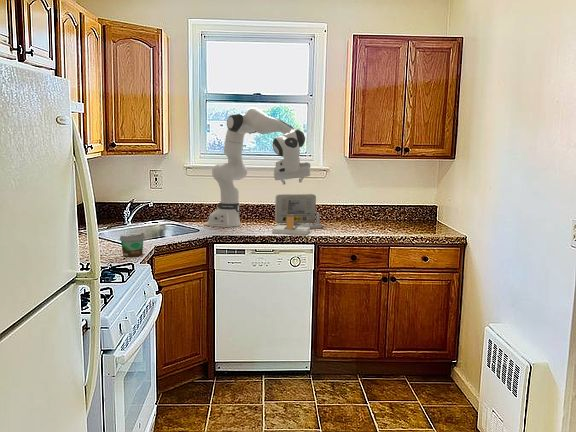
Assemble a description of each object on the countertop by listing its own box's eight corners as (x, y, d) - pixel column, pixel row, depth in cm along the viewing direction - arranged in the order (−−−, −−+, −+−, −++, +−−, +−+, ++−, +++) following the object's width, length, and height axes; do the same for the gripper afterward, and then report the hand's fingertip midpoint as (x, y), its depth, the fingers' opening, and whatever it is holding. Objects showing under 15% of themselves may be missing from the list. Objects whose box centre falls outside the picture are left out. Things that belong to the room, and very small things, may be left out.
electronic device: (298, 213, 342) (320, 211, 347) (298, 228, 344) (320, 227, 348) (300, 214, 337) (323, 213, 342) (300, 230, 339) (323, 228, 343)
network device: (312, 223, 359) (313, 193, 356) (316, 226, 350) (317, 195, 347) (274, 224, 352) (274, 193, 349) (277, 227, 344) (278, 195, 341)
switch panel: (272, 233, 323) (272, 227, 322) (277, 229, 336) (277, 223, 336) (305, 235, 319) (306, 229, 319) (309, 231, 333) (309, 225, 332)
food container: (127, 259, 250) (127, 237, 249) (120, 257, 254) (119, 235, 253) (150, 255, 259) (150, 234, 258) (143, 253, 263) (142, 232, 262)
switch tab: (286, 229, 322) (286, 214, 321) (287, 228, 325) (287, 214, 324) (292, 229, 321) (293, 215, 320) (293, 228, 325) (294, 214, 323)
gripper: (309, 158, 304) (309, 176, 314) (272, 162, 302) (273, 181, 313) (311, 165, 300) (311, 184, 310) (274, 170, 298) (275, 188, 308)
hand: (292, 182), depth 311 cm, fingers open, 8 cm apart
